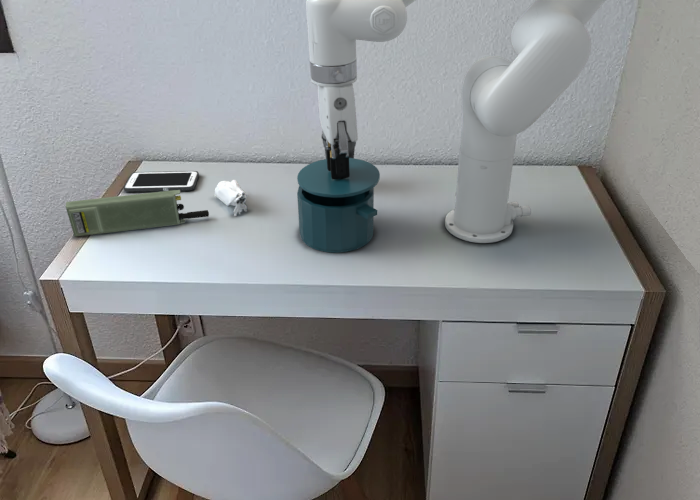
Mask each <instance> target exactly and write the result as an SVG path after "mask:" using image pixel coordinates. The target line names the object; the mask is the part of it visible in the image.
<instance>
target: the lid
mask: <svg viewBox="0 0 700 500" xmlns="http://www.w3.org/2000/svg"><path fill="white" fill-rule="evenodd" d="M335 150H336V149H335ZM330 157H332V153H331V151H330ZM349 172H350V176H349V177H348V178H341V179H332V178H331V171H328V169H327V159H326V158H324V159H320V160H317V161H314V162H311V163H309V164H307V165H304V167H302V168H301V169H300V171H299V172H298V173H297V177H296V180H297V184H298V187H299V186H300V187H301V188H302V189H303V190H305V191H306V192H309V193H311V194H314V195H318V196H323V197H348V196H354V195H358V194H361V193H364V192H366V191H368V190H370V189H372V188H373V187H374V188H375V187H376V186H377V185H378V184H379V182H380V178H381V173H380V170H379V168H378V167H377V166H375V165H374V164H373V163H371V162H369V161H366V160H363V159H359V158H355V157H354V158H349Z"/></svg>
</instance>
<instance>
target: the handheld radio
mask: <svg viewBox="0 0 700 500" xmlns="http://www.w3.org/2000/svg"><path fill="white" fill-rule="evenodd" d="M180 194H181V191H180V190H172V191H152V192H144V193H136V194H127V195H117V196H116V195H115V196H109V197H99V198H89V199H82V200H81V199H80V200H72V201H70V200H69V201H66V202H65V210H66V213H67V217H68V220H69V223H70V226H71V230H72V233H73V236H74V237H84V236H92V235H93V236H94V235H101V234H110V233H117V232H126V231H127V232H128V231H136V230H145V229H152V228H153V229H154V228H161V227H169V226H177V225H182V224H185V223H186V220H187V219H188V220H189V219H199V218H208V217H209V216H210V213H209V210H208V209H205V210H195V211H188V212H184V213H183V212H179V211H183V210H184V209H185V205H184V204H183V203H178V202H177V201H181V200H182V196H181V195H180Z"/></svg>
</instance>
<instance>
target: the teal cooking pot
mask: <svg viewBox="0 0 700 500" xmlns="http://www.w3.org/2000/svg"><path fill="white" fill-rule="evenodd" d="M297 188H298V189H297V192H296V193H297V196H296V197H297V211H298V212H297V213H298V230H299V235H300V238H301V240H302V243H304V244H305V245H306V246H307V247H309V248H311V249H313V250H316V251H319V252H323V253H333V254H335V253H337V254H338V253H348V252H353V251H355V250H358V249H361V248H363V247H364V246H366V245H367V244H369V243H370V242H371V240H372V239H373V236H374V218H375V217H376V216H378V209H377V208H375V207H374V205H375V204H374V203H375V202H374V201H375V200H374V199H375V196H374V194H375V187H373V188H372V189H370V190H368V191H366V192H364V193H361V194H358V195H354V196H348V197H323V196H318V195H314V194H311V193H309V192H306V191H305V190H303V189H302V188H301V187H300V186H299V185H298V187H297Z"/></svg>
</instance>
